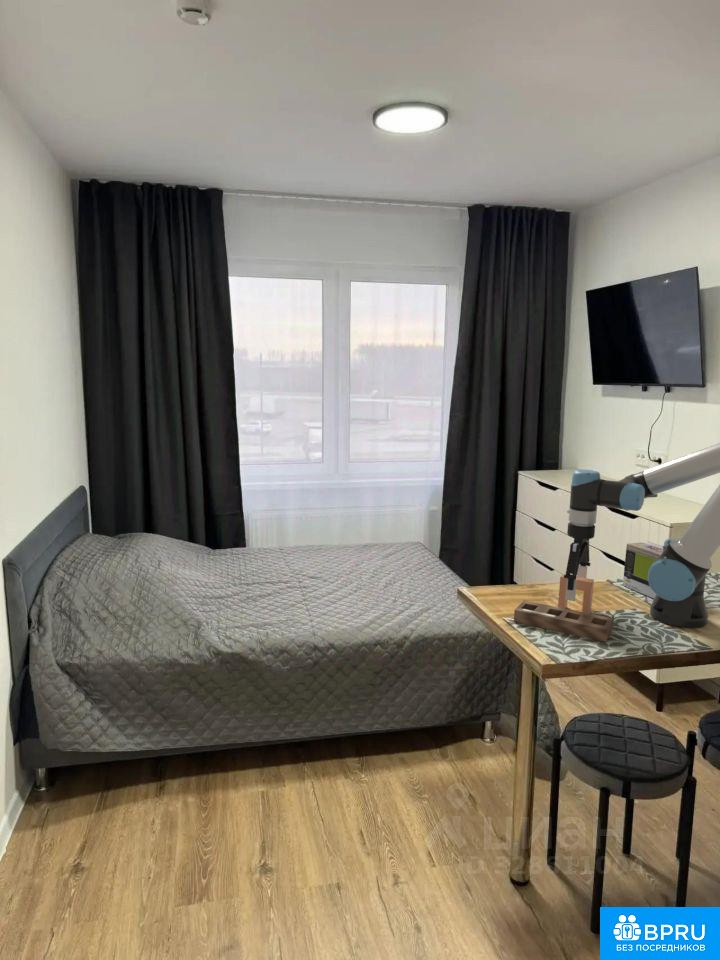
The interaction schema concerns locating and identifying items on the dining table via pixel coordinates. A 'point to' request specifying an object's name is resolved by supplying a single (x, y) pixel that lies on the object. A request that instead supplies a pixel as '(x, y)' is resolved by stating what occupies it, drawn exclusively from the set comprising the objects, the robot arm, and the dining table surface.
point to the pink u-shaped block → (582, 585)
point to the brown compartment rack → (564, 620)
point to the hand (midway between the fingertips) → (575, 593)
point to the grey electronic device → (640, 566)
